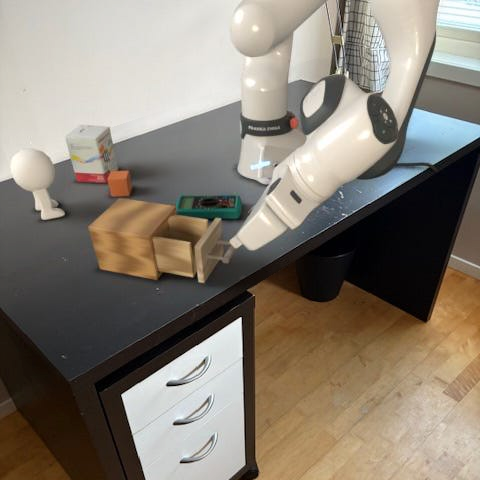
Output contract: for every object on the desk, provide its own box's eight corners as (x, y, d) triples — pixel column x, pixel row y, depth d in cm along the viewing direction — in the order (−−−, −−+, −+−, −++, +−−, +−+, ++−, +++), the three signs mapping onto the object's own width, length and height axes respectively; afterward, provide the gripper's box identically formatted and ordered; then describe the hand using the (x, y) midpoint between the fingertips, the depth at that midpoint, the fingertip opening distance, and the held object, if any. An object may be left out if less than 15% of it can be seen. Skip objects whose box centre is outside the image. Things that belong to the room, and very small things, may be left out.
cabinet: (182, 247, 99) (176, 205, 92) (157, 280, 91) (148, 237, 84) (128, 238, 102) (119, 197, 96) (99, 269, 94) (87, 227, 88)
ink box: (106, 183, 122) (95, 137, 114) (76, 181, 123) (63, 136, 115) (119, 169, 128) (109, 124, 120) (90, 167, 130) (78, 123, 122)
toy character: (72, 215, 110) (53, 151, 100) (33, 226, 107) (9, 162, 97) (61, 199, 116) (41, 138, 106) (23, 210, 113) (-1, 148, 103)
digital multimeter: (241, 220, 106) (240, 208, 104) (175, 221, 107) (173, 209, 105) (242, 204, 111) (242, 192, 110) (179, 205, 112) (178, 193, 110)
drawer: (244, 256, 94) (243, 221, 89) (226, 287, 87) (223, 251, 82) (171, 244, 98) (166, 210, 93) (148, 272, 91) (141, 238, 86)
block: (132, 187, 120) (129, 170, 117) (129, 196, 116) (126, 178, 113) (114, 188, 120) (110, 171, 117) (111, 196, 117) (107, 179, 113)
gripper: (302, 142, 81) (249, 188, 90) (267, 198, 66) (208, 246, 76) (326, 170, 82) (271, 213, 92) (297, 231, 68) (235, 274, 77)
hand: (242, 228), depth 83 cm, fingers open, 8 cm apart
